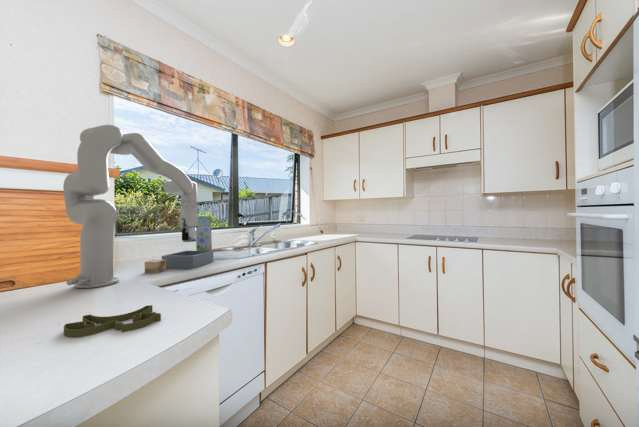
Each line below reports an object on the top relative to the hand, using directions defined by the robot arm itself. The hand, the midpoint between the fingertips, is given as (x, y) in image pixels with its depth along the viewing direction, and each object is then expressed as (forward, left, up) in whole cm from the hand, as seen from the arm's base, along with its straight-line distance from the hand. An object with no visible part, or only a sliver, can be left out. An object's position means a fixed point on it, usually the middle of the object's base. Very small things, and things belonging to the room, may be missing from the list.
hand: (189, 239), depth 138 cm
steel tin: (0, 0, -1) cm, 1 cm away
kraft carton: (-17, +6, -13) cm, 22 cm away
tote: (0, 0, -13) cm, 13 cm away
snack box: (+24, +5, -13) cm, 28 cm away
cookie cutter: (-74, -26, -14) cm, 80 cm away
